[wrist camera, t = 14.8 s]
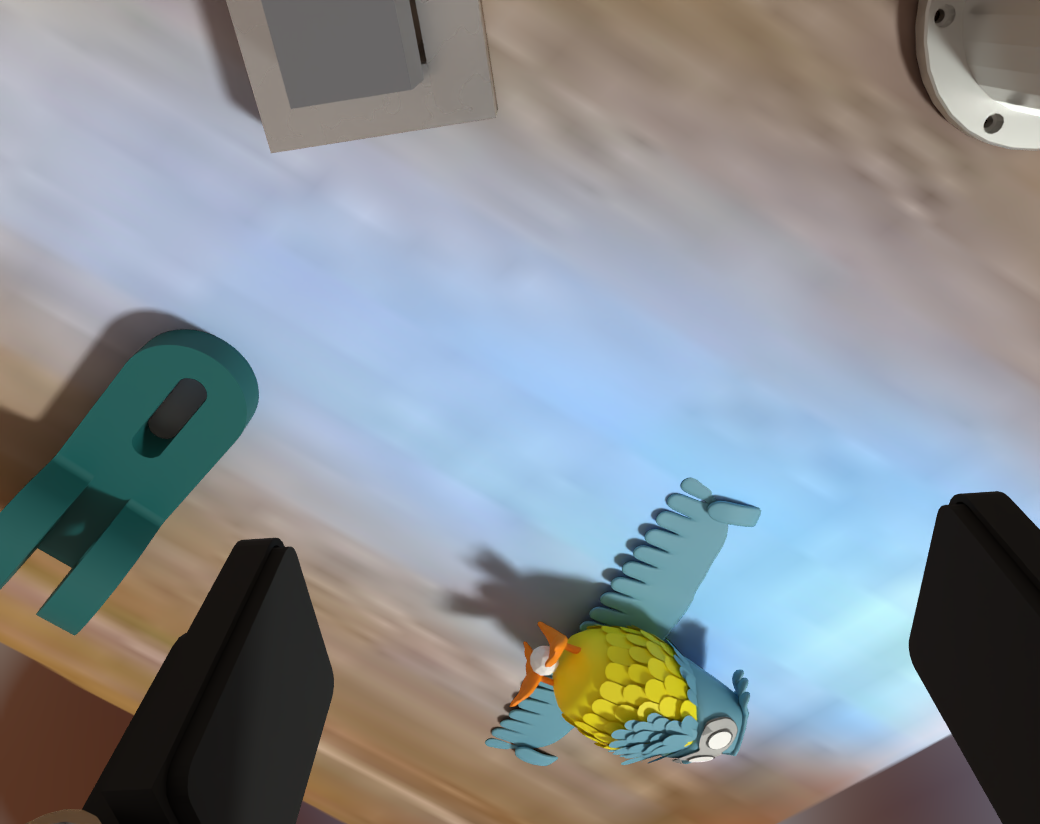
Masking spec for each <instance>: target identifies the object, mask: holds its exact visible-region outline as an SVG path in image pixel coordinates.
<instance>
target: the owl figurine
mask: <svg viewBox="0 0 1040 824" xmlns="http://www.w3.org/2000/svg"><path fill="white" fill-rule="evenodd" d="M681 488H682V490H683V491H685V492H686V493H688V494H690V495H692V496H695V497H697V498H699V499H702V500H704V501H705V502H706V503H705V502H701V501H698V500H695V499H693V498H690V497H688V496H685V495H682V494H678V493H675V494H672V495H671V496H670V497H669V498H668V500H667V504H668V506H669V507H670V508H672V509H673V510H675V511H677V512H679V513H681V514H684V515H686V516H687V517H685V516H682V515H680V514H677V513H674V512H670V511H663V512H661V513H660V514H659V515H658V516H657V518H656V522H657V524H658V525H659V526H661V527H663V528H665V529H667V530H669V531H672V532H674V533H676V534H674V533H670V532H667V531H663V530H659V529H651V530H649V531H648V532H647V533H646V534H645V540H646V542H648V543H649V544H651V545H653V546H656V547H658V548H661V549H663V550H660V549H657V548H653V547H649V546H644V545H642V546H638V547H636V548H635V549H634V551H633V555H634V557H635V558H636V559H638V560H640V561H643V562H645V563H648V564H650V565H652V566H650V565H646V564H643V563H639V562H633V561H630V562H627V563H625V564H624V565H623V567H622V571H623V573H624V574H626V575H627V576H630V577H632V578H635V579H637V580H640V581H642V582H640V581H636V580H633V579H629V578H625V577H617V578H615V579H613V580H612V581H611V587H612V589H613V590H615V591H617V592H620V593H622V594H620V593H615V592H606V593H604V594H603V595H602V596H601V598H600V601H601V603H602V604H604V605H605V606H608V607H610V608H613V609H616V610H618V611H616V610H612V609H608V608H604V607H595V608H593V609H592V610H591V611H590V617H591V618H592V619H593V620H595V621H598V622H600V623H598V622H594V621H585V622H583V623H582V624H581V625H580V631H581V632H579V633H577V634H574V635H572V636H571V637H570V638H569V639H568V638H567V637H566V636H565V635H563V634H562V633H560V632H559V631H557V630H555V629H554V628H552V627H550V626H548V625H546V624H545V623H543V622H538V626H539V628H540V629H541V631H542V632H543V634H544V635H545V637H546V638H547V640H548V642H549V645H550V647H549V646H539V647H537V648H535V649H534V650H532V648H531V647H530V646H529V645H528V643H527V642H525V641H524V643H523V644H524V647H525V657H526V659H527V663H526V677H525V678H524V680H523V682H522V685H521V688H520V691H519V693H518V694H517V696H516V697H515V698H514V699H513V701H512V702H511V704H510V707H513V706H516V705H517V704H518V706H519V707H520V708H522V709H525V710H520V709H515V710H512V711H511V712H509V717H510V718H513V719H516V720H509V719H507V720H503V721H502V722H501V723H500V725H501V726H502V727H504V728H496V729H493V730H492V735H493V736H495V737H497V738H500V739H503V740H506V741H509V742H511V743H514V744H515V745H512V744H509V743H506V742H504V741H501V740H498V739H493V738H491V739H487V740H486V741H485V744H486V745H487V746H489V747H495V748H500V749H509V748H512V749H515V755H516V756H517V757H518V758H519V759H521V760H523V761H525V762H527V763H530V764H534V765H540V766H547V765H549V764H551V763H553V762H554V761H556V760H557V759H558V757H556V756H550V755H545V754H542V753H539V752H537V751H535V750H533V749H530V748H539V747H543V746H547V745H550V744H552V743H555V742H556V741H558V740H560V739H561V738H562V737H564V736H565V735H566V734H567V733H568V732H569V731H570V730H572V729H573V728H574V727H576V728H578V731H579V732H581V733H582V734H583V735H585V736H586V737H588V738H590V739H592V740H594V741H596V742H598V743H594V744H596V745H597V746H600V747H603V748H607V749H612V750H610V751H608V752H614V751H615V753H613V754H615V755H620V754H624V755H621V756H620V757H625V758H634V759H630V760H627V761H625V762H623V763H621V764H622V765H626V764H631V763H634V762H637V761H641V760H644V759H647V758H651V757H654V756H658V755H661V756H662V757H660V758H658V759H655V760H653V761H650V762H648V763H651V762H654V761H657V760H659V759H662V758H664V757H669V758H678V759H674V760H673V762H677V763H681V761H682V763H683V764H688V763H691V762H704V761H709V760H712V759H714V758H715V757H716V756H720V755H721V754H726V755H733V756H736V755H737V753H738V751H739V749H740V746H741V743H742V740H743V736H744V733H745V729H746V725H747V719H748V716H749V712H748V708H747V704H748V702H749V698H750V693H749V692H745V690H746V688H747V685H748V679H747V678H742V677H743V675H744V671H743V670H736V671H735V672H734V674H733V677H732V681H733V686H734V688H735V691H734V692H733V691H731V690H730V689H729V688H728V687H727V686H725V685H724V684H723V683H721V682H720V681H719V680H717V679H716V678H714V677H713V676H712V675H710V674H709V673H707V672H706V671H704V670H703V669H702V668H700V667H699V666H698V665H696V664H695V663H693V662H692V661H691V660H689V659H688V658H686V657H685V656H683V655H682V654H681V653H680V652H679V650H678V649H677V648H676V647H675V646H674V645H673V644H672V643H671V642H670V641H669V640H668V639H667V638H666V637H667V636H668V634H669V633H670V632H671V630H672V629H673V628H674V627H675V625H676V624H677V623H678V622H679V620H680V619H681V618H682V616H683V615H684V614H685V612H686V611H687V609H688V608H689V606H690V604H691V603H692V601H693V598H694V595H695V593H696V591H697V589H698V587H699V586H700V584H701V583H702V581H703V580H704V578H705V576H706V574H707V572H708V570H709V568H710V566H711V565H712V563H713V561H714V560H715V558H716V557H717V555H718V553H719V552H720V550H721V548H722V546H723V544H724V542H725V540H726V537H727V531H728V524H730V525H737V526H745V527H753V526H755V525H756V523H757V521H758V519H759V516H760V514H761V510H760V509H759V508H757V507H753V506H747V505H741V504H736V503H732V502H728V501H717V500H716V499H715V498H714V497H713V496H712V493H711V491H710V490H709V489H708V488H707V487H705V486H704V485H703V484H702V483H700V482H699V481H698V480H696V479H694V478H686V479H685V480H683V481H682V483H681ZM688 517H689V518H688ZM664 550H665V551H664ZM654 566H655V567H654ZM624 594H625V595H624ZM602 623H603V624H602ZM665 638H666V640H667V641H668V642H669V643H670V644H671V645H672V646H673V647H672V646H671V645H669V644H668V643H666V642H664V640H665ZM548 675H551V676H548ZM538 685H539V686H542V687H545V688H548V689H545V688H538V687H537V686H538ZM550 689H551V690H550ZM528 697H531V698H534V699H537V700H534V699H527V698H528ZM539 700H540V701H539ZM526 710H528V711H526ZM517 720H519V721H517ZM506 728H507V729H506ZM509 729H510V730H509ZM512 730H513V731H512ZM584 730H585V731H587V732H588V733H587V732H585V731H584ZM516 731H517V732H516ZM605 743H606V744H605ZM635 757H637V758H635ZM682 763H681V764H682Z"/></svg>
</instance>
